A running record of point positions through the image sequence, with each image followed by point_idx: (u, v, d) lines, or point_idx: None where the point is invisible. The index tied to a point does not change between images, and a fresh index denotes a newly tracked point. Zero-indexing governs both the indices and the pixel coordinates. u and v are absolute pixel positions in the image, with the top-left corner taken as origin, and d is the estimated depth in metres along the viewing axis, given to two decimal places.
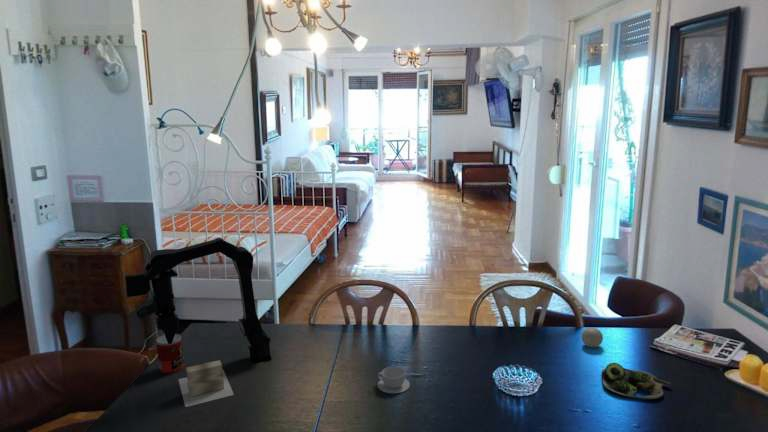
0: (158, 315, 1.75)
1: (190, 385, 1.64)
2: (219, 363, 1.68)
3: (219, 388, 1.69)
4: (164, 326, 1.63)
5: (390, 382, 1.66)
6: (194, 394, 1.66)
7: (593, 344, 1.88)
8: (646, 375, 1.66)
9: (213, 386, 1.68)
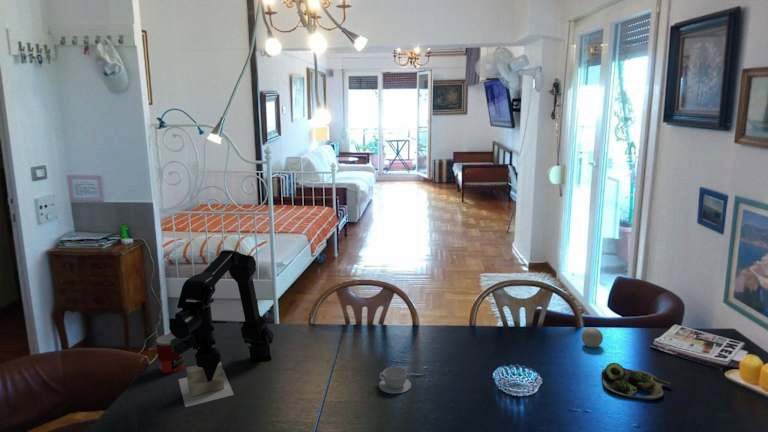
0: None
1: (190, 385, 1.64)
2: (219, 363, 1.68)
3: (219, 388, 1.69)
4: (205, 363, 1.45)
5: (391, 382, 1.66)
6: (194, 394, 1.66)
7: (593, 344, 1.88)
8: (646, 375, 1.66)
9: (213, 386, 1.68)
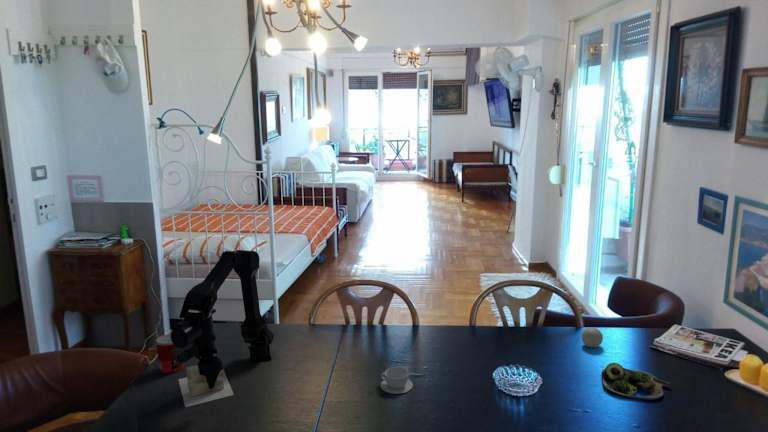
0: None
1: (190, 385, 1.64)
2: None
3: (219, 388, 1.69)
4: (207, 372, 1.51)
5: (393, 382, 1.65)
6: (194, 394, 1.66)
7: (593, 344, 1.88)
8: (646, 375, 1.66)
9: None
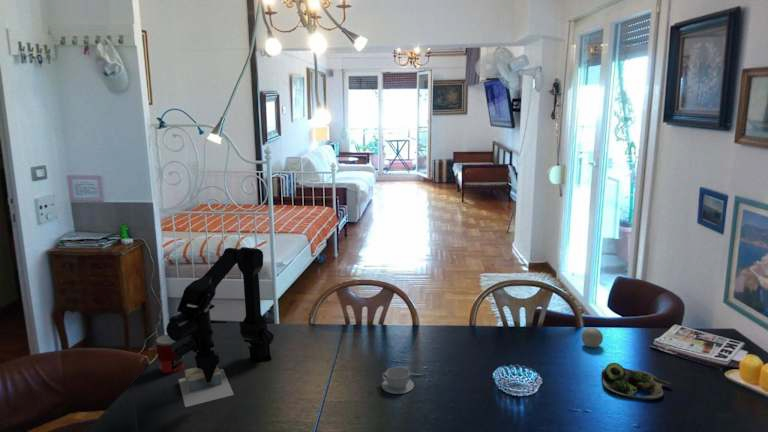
0: None
1: (187, 375, 1.71)
2: None
3: (216, 374, 1.72)
4: (204, 365, 1.54)
5: (394, 383, 1.65)
6: (191, 379, 1.68)
7: (593, 344, 1.88)
8: (646, 375, 1.66)
9: None
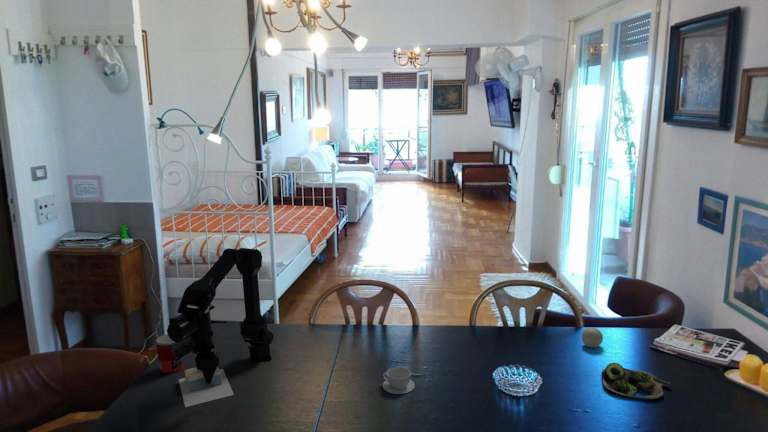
0: (195, 352, 1.65)
1: (187, 375, 1.71)
2: None
3: (216, 374, 1.72)
4: (204, 367, 1.53)
5: (395, 383, 1.65)
6: (191, 379, 1.68)
7: (593, 344, 1.88)
8: (646, 375, 1.66)
9: None
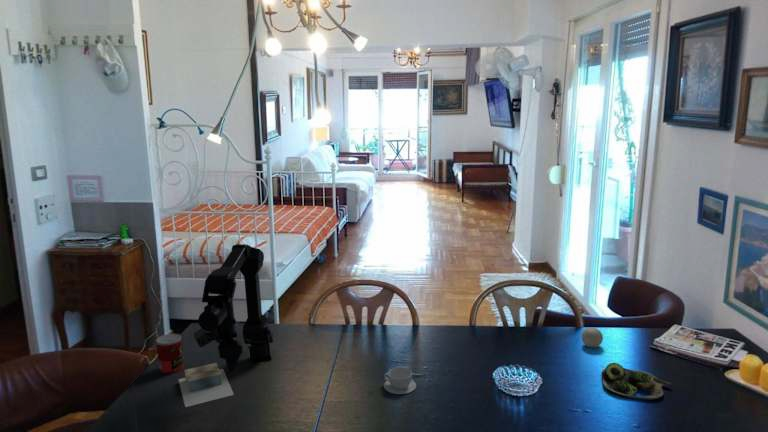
0: None
1: (187, 375, 1.71)
2: None
3: (216, 374, 1.72)
4: (227, 355, 1.50)
5: (396, 383, 1.65)
6: (191, 379, 1.68)
7: (593, 344, 1.88)
8: (646, 375, 1.66)
9: (209, 373, 1.72)
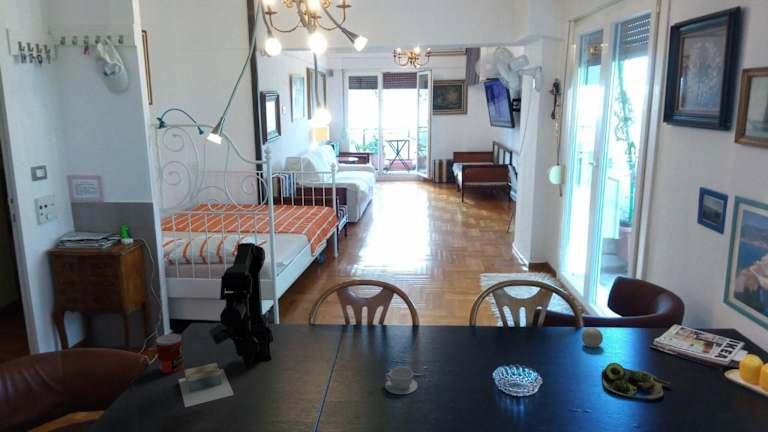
0: (231, 338, 1.63)
1: (187, 375, 1.71)
2: None
3: (216, 374, 1.72)
4: (244, 351, 1.51)
5: (397, 383, 1.65)
6: (191, 379, 1.68)
7: (593, 344, 1.88)
8: (646, 375, 1.66)
9: (209, 373, 1.72)
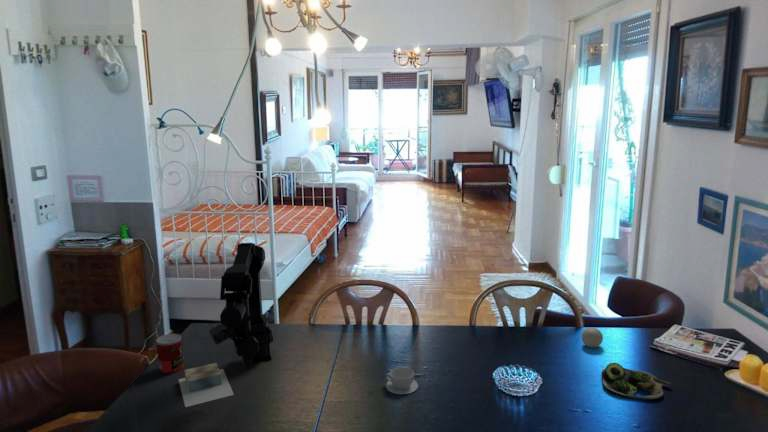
0: (231, 338, 1.63)
1: (187, 375, 1.71)
2: None
3: (216, 374, 1.72)
4: (244, 351, 1.51)
5: (398, 383, 1.65)
6: (191, 379, 1.68)
7: (593, 344, 1.88)
8: (646, 375, 1.66)
9: (209, 373, 1.72)
